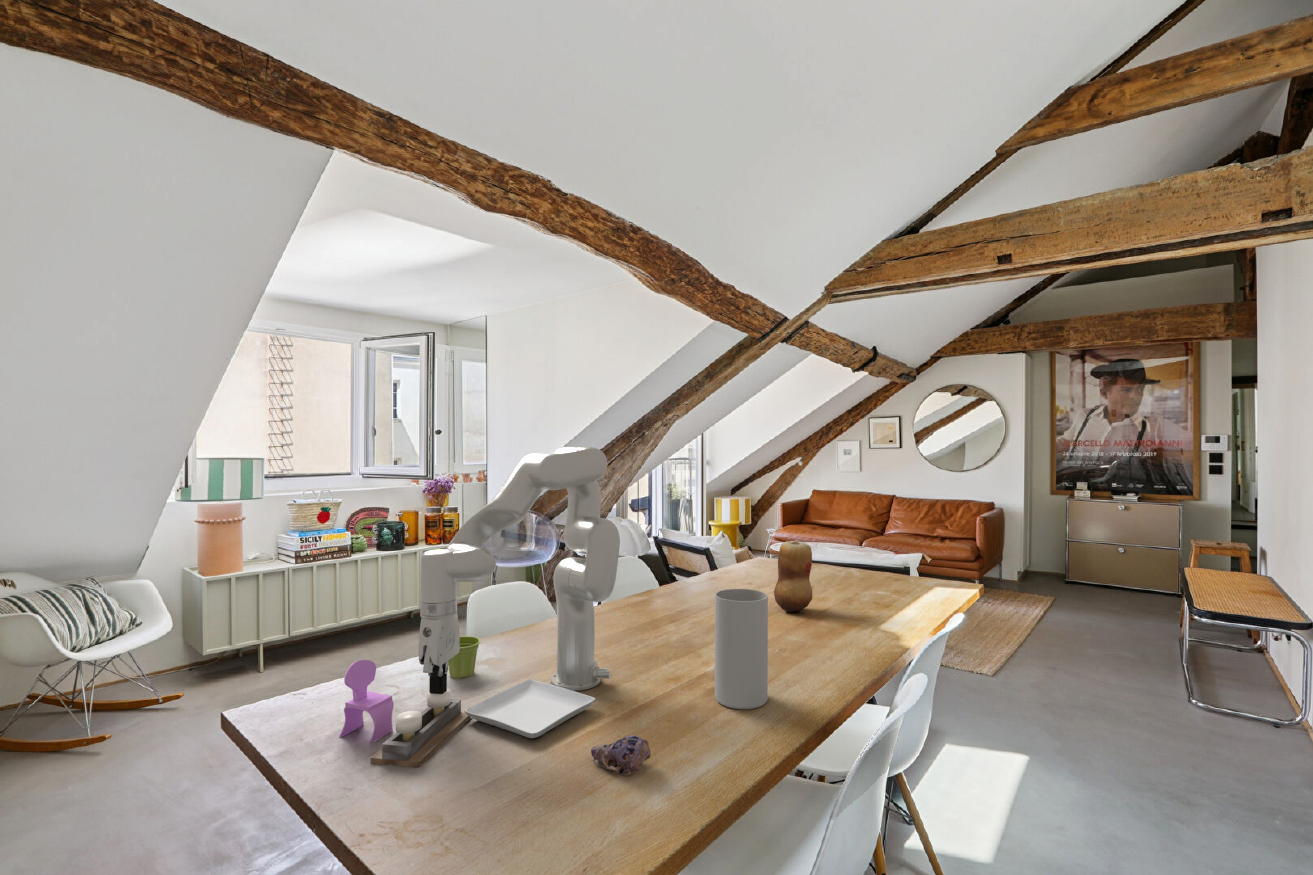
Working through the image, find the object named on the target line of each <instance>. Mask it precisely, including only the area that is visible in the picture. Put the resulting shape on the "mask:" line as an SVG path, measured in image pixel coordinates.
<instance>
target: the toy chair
mask: <svg viewBox="0 0 1313 875" xmlns="http://www.w3.org/2000/svg"><path fill="white" fill-rule="evenodd" d="M376 673H377V665H376V662H374V661H372V660H368V659H360V660H356V661H354V662H352V663H351V664H350V665H349V667H348V668H347V670H346V672H345V675H344V680H343V681H344V684H345V686H346V687H348V688H349V689H351V690H352V699H350V700H348V701H345V703H344V704H345V705H344V709H343V713H344V718H345V719H344V724H343V727H342V729H341V732H340V734H339V736H338V737H339V738H342V737H344V736H346V735H347V734H350V733H351V732H353V731H355V730H357V729H359V728H361V727H363V726H364V725H365V722H364V712H366V713H368V714H369V716H370V718H371V719H372V722H373V724H374V727H373V732H372V735H371V738H370V740H369V742H368V743H369V744H372V743H374V742H377V741H378V740H379V739H381V738H382V737H385V736H386V735H387V734H390V733H391V732H393V730H394V729H393V710H394V700H393V695H391V694H382V693H378V692H374V691H373V692H372V691H368V686H369V685H371V684H372V683H373V682H374V681H375V678H376Z"/></svg>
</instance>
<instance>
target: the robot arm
mask: <svg viewBox="0 0 1313 875" xmlns="http://www.w3.org/2000/svg"><path fill="white" fill-rule="evenodd" d="M607 469H608V458H607V456H606V454H605V453H604V452H603V451H602V450H600V449H599V448H597V447H592V446H591V447H589V446H564V447H560V448H558V449H556V450H555V451H554V453H536V452H535V453H529V454H527V455H525V456H524V457H522V458H521V459H520V460H519V462H518V463H517V464H516V466H515V467H514V469H513V470H512V471H511V473H510V474H509V476H508V477H507V479H506V480H505V481H504V483H503V484H502V485H501V487H500V489H499V490H498V492H496V495H495V496H494V497H493V498H492V499H491V500H490V502H488V503H487V504H486V505H484V506H483V507H481V508H480V509H479V510H478V511H477V512H475V513H474V514H473V515H472V516H471V517H469V518H468V519H467V520H466V521H465V522H464V523H463V524H462V525H461V526H460V528H459V529H458V531H456V533H455V535H454V536H453V537H452V539H451V540H450V542H449V544H448V545H447V546H446V548H440V549H438V548H436V549H430V550H427V551H424V552H423V553H422V554H421V557H420V603H419V604H420V606H419V608H420V611H419V612H420V613H419V616H420V618H421V619H420V626H419V636H418V661H419V662H418V663H419V664H420V665H422V666H423V667H422V673H424V674H428V677H429V683H428V684H429V688H428V689H429V690H428V692H430V694H443V693H444V692H446V691H447V688H448V686H447V685H448V673H449V672H448V671H449V666H448V664H449V660H450V659H451V658H453V657H454V656H455V655H457V654H458V652H459V650H460V637H461V636H460V624H459V623H460V622H459V616H458V583H459V582H462V583H463V582H464V583H466V582H473V583H474V582H475V583H476V582H482V581H485V580H487V579H488V578H490V577H491V576H492V575H493V573H494V572H495V570H496V565H497V561H496V558H495V556H494V554H493V553H492V552H491V551H490V550H489V549H487V548H484V547H483V546H484V545H485V544H486V543H487V542H488V541H489V540H490V539H491V538H492V537H493V536H495V535H496V534H498V533H499V532H501V531H503V530H505V529H508V528H511V527H514V526H515V525H517V524H519V523H520V522H523V520H525V517H526V516H527V514H528V513H529V512H530V510H531V509H532V507H533V505H534V503H536V501H537V499H538V498H539V497H540V496H541V494H542V493H543V491H544V490H549V491H557V490H558V491H559V490H565V489H566V491H567V498H568V499H567V509H566V510H567V511H566V519H565V526H564V534H563V536H564V538H563V540H564V545H565V546H566V548H568V549H569V550H571V551H573V552H575V553H579V554H582V555H583V554H585V555H586V556H585V557H586V558H581V557H575V556H569V557H565V558H564V559H562V560H560V562H558V564H557V565H556V567H555V568H554V572H553V575H552V576H553V579H552V580H553V587H554V594H555V600H556V672H555V673H554V674H552V675H551V677H550V684H551V685H554V686H558V687H561V688H565V689H568V690H571V691H575V692H579V691H585V690H590V689H592V688H594V687H596V686H597V685H598V686H599V684H600V683H601V679H606V680H607V679H609V680H610V679H611V674H612V673H611V670H609V668H608V667H600V666H598V665H599V664H598V662H599V661H595V619H596V618H595V606H594V603H601V602H603V601H606V600H607V599H608V598H609V597H610V596H611V594H612V593H613V591H614V588H615V586H616V580H617V572H618V566H619V564H618V563H619V558H620V557H619V556H620V546H621V537H620V532H619V529H618V527H617V526H616V524H615V523H614V522H613V521H611V520H610V519H608V518H603V517H601V511H602V510H601V508H602V493H601V487H600V485H599V482H598V481H599V480H601V479H602V478H603V477H604V476H605V474H606V472H607Z"/></svg>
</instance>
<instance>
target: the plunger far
mask: <svg viewBox="0 0 1313 875" xmlns="http://www.w3.org/2000/svg"><path fill="white" fill-rule="evenodd" d="M426 695H427V696H426V697H427V698H426V705H427V708H428V707H431V708H434V718H436V717H437V716H438V715H439V714H440V713H442V712H443V711H444V707H445V706H447V705H449V704H450V703H451V699H452V696H451V689H450V688H448V687H447V691H446V692H444V693H443V694H430V692H429V691H427V693H426Z"/></svg>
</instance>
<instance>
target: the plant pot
mask: <svg viewBox="0 0 1313 875" xmlns="http://www.w3.org/2000/svg"><path fill="white" fill-rule="evenodd" d="M459 637H460V650H459V652H458V654H457V655H455V656H454V657H453V658H451V659H450V660H449V664H448V671H449V672H448V673H449V676H450V677H451V678H453V679H460V680H461V679H463V678H466V677H467V678H469V677H471V676H473V675H474V674H475V667H476V661H477V660H476V659H477V655H478V648H479V645H480V643H481V639H480V637H477V636H472V635H471V636H470V635H469V636H468V635H467V636H459Z"/></svg>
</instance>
